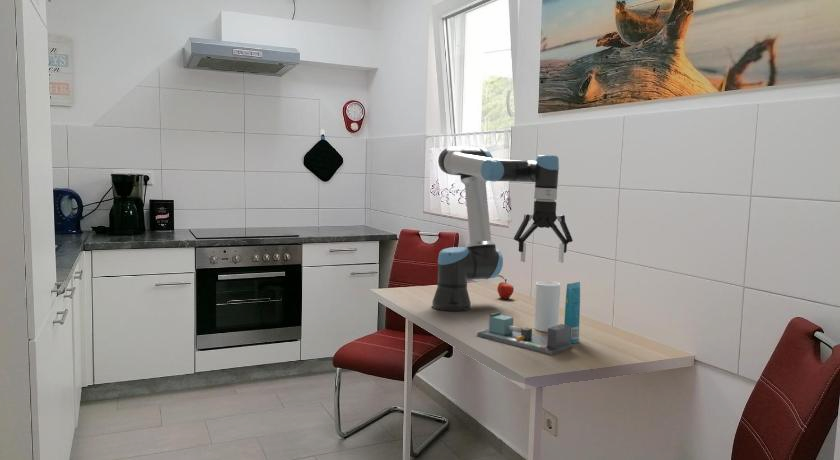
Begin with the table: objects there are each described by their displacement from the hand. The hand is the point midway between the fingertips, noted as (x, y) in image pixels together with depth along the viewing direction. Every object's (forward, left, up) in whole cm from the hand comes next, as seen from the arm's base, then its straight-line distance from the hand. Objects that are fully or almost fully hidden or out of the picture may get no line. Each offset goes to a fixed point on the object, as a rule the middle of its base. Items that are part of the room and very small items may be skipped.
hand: (541, 261), depth 214 cm
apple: (-37, +31, -24) cm, 53 cm away
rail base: (+6, -19, -23) cm, 31 cm away
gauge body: (0, -19, -22) cm, 29 cm away
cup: (+2, +1, -24) cm, 24 cm away
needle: (+7, -21, -22) cm, 31 cm away
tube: (+16, -7, -24) cm, 30 cm away
